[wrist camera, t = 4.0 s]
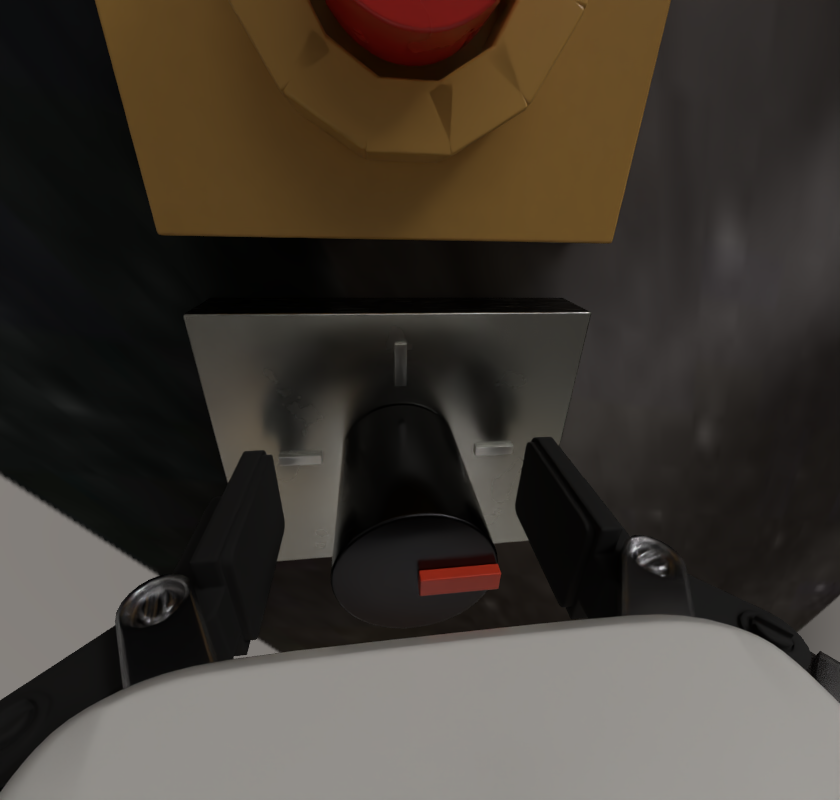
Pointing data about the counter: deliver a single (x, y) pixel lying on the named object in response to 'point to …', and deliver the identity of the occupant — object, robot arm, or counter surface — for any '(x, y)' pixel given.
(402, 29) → the press knob
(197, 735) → the robot arm
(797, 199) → the counter surface
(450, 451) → the dial
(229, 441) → the dial plate
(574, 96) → the knob block
